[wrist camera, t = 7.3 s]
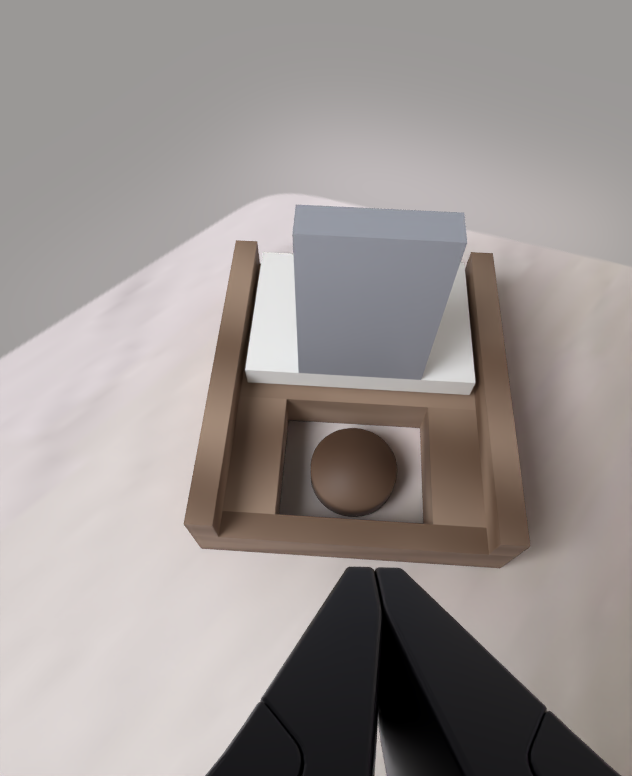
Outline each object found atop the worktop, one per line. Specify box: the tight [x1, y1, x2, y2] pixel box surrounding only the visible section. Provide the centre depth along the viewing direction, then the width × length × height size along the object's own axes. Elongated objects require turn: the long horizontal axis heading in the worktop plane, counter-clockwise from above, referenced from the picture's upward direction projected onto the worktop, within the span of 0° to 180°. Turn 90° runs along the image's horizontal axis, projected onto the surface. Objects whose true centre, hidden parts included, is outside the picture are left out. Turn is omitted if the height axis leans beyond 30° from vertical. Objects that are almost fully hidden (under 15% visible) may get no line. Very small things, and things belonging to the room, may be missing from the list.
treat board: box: [184, 240, 530, 568], centre depth 24 cm, size 14×12×4 cm
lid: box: [245, 205, 475, 395], centre depth 21 cm, size 6×9×9 cm
